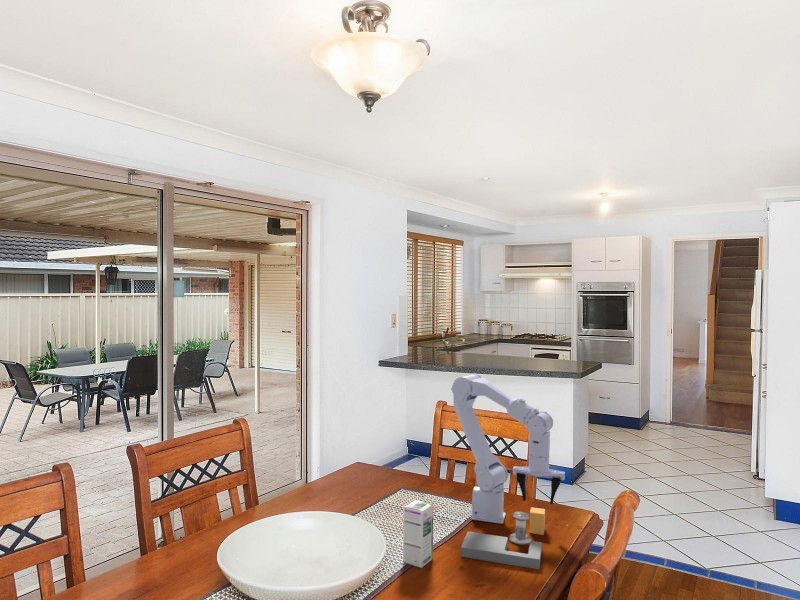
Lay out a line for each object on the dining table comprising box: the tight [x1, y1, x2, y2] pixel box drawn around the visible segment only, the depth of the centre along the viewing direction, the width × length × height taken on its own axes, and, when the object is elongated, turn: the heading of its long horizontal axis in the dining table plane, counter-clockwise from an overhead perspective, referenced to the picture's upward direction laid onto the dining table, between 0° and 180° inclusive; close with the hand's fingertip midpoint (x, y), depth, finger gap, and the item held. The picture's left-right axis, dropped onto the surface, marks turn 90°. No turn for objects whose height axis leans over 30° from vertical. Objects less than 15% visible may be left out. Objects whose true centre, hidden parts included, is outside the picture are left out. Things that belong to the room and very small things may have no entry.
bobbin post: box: [509, 511, 533, 546], centre depth 158 cm, size 6×6×7 cm
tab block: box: [529, 506, 546, 536], centre depth 164 cm, size 4×4×6 cm
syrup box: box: [402, 499, 434, 569], centre depth 145 cm, size 6×6×14 cm
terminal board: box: [460, 531, 543, 570], centre depth 150 cm, size 20×10×2 cm, turn 73°
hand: (537, 501), depth 164 cm, fingers open, 7 cm apart
